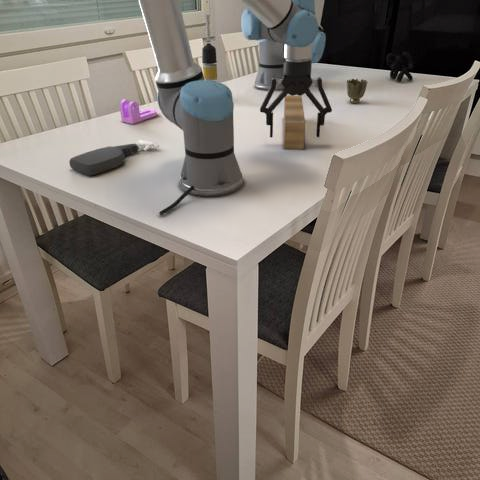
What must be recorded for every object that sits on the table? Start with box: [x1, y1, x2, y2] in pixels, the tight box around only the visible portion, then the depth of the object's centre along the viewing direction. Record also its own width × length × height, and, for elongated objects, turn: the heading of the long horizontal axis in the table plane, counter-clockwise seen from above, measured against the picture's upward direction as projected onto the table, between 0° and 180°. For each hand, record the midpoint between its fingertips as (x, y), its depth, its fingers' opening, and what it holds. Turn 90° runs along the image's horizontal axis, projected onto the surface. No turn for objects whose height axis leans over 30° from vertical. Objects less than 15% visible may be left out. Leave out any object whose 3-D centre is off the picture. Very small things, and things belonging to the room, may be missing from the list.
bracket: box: [118, 99, 158, 125], centre depth 156 cm, size 13×6×7 cm, turn 143°
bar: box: [283, 94, 306, 150], centre depth 140 cm, size 30×6×8 cm, turn 175°
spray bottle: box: [68, 139, 160, 177], centre depth 124 cm, size 3×11×24 cm
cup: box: [346, 78, 368, 104], centre depth 168 cm, size 8×7×8 cm
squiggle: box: [385, 51, 414, 83], centre depth 198 cm, size 11×10×15 cm
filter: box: [201, 14, 218, 82], centre depth 171 cm, size 6×6×30 cm
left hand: (294, 136), depth 131 cm, fingers open, 13 cm apart
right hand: (286, 19), depth 153 cm, fingers open, 13 cm apart
